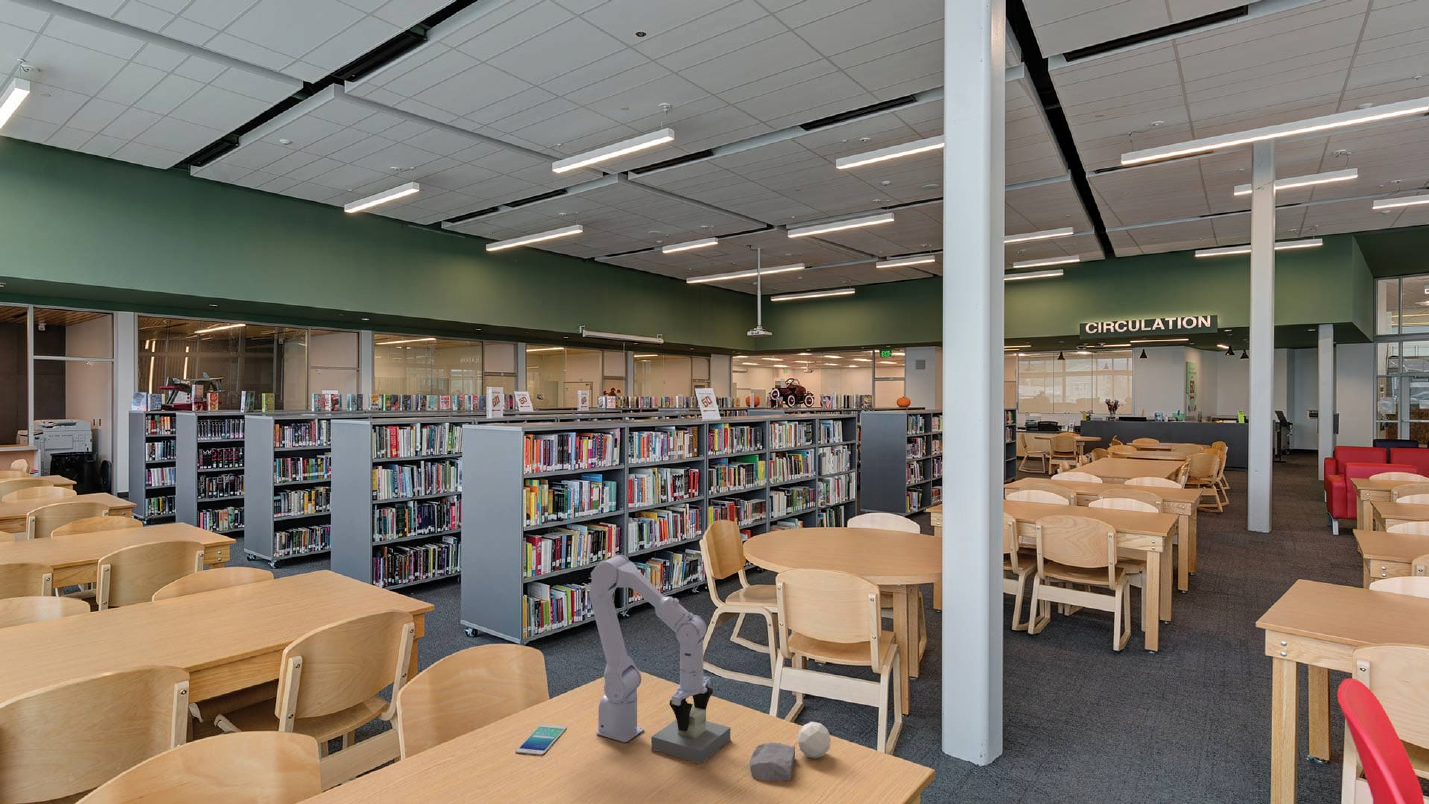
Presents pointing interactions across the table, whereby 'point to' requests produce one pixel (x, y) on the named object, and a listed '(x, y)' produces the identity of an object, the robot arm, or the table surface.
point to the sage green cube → (695, 723)
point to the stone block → (773, 762)
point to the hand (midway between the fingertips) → (691, 724)
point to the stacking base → (691, 742)
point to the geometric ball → (814, 740)
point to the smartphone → (541, 739)
